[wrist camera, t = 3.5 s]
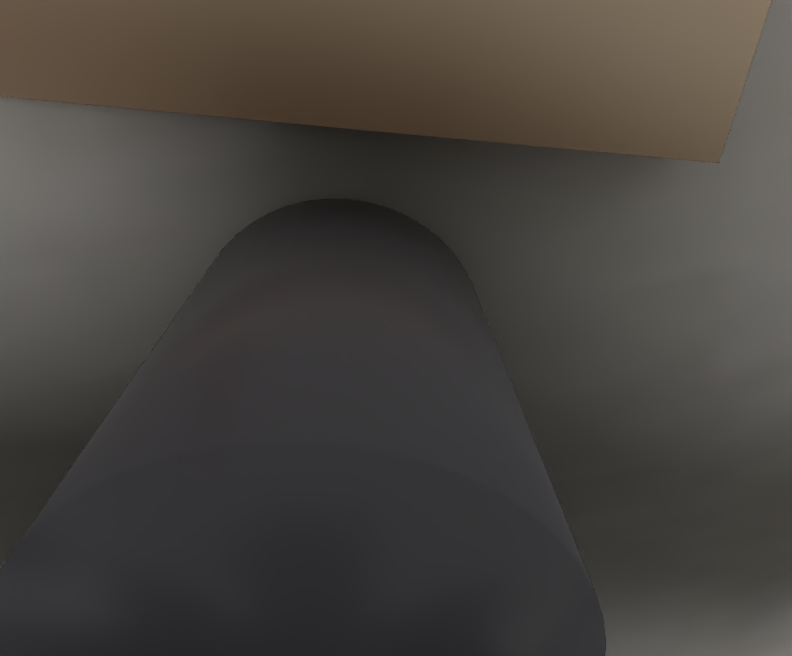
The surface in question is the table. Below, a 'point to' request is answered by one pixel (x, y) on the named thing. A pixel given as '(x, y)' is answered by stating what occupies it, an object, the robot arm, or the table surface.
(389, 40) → the cork mat
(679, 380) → the table surface
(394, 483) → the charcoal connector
